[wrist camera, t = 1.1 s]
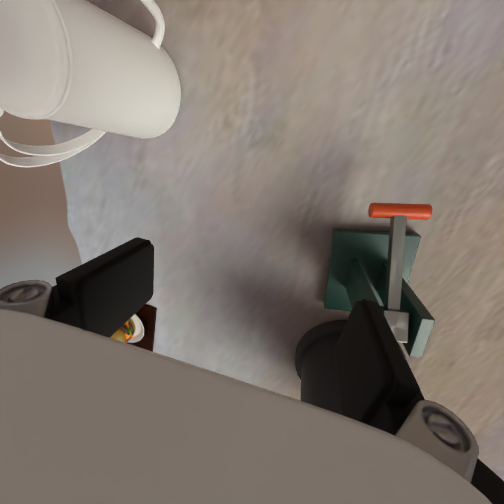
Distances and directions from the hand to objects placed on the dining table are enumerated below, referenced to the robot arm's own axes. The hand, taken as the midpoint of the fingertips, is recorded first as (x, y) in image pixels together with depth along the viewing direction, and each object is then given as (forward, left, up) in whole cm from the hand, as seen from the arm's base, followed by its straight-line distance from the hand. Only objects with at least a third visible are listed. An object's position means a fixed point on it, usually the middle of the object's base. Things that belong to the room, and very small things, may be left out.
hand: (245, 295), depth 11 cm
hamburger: (+37, +14, -23) cm, 46 cm away
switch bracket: (-8, +13, -23) cm, 28 cm away
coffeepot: (+13, -18, -23) cm, 32 cm away
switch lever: (-9, +9, -15) cm, 20 cm away
